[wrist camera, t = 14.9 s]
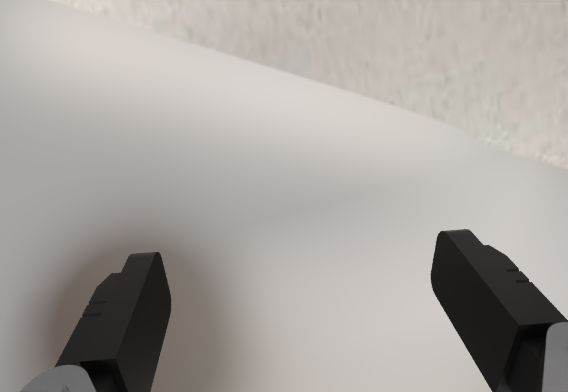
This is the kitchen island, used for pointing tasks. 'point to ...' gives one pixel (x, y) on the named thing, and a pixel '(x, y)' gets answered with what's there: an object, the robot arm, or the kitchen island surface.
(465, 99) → the kitchen island surface
